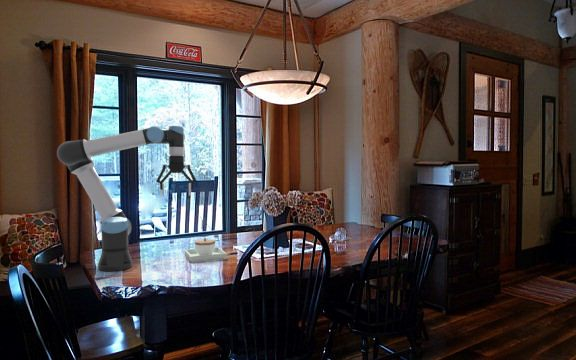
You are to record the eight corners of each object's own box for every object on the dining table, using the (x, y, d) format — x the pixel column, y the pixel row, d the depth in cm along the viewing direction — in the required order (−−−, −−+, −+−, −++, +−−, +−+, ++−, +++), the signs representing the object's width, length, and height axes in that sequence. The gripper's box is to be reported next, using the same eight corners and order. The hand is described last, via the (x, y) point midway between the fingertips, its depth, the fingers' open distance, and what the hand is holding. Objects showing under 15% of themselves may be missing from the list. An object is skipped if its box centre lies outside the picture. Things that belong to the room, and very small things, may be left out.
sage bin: (190, 262, 206) (190, 256, 206) (184, 254, 223) (184, 249, 223) (226, 259, 213) (226, 253, 213) (218, 252, 230) (218, 246, 230)
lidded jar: (217, 253, 223) (217, 236, 222) (212, 258, 212) (212, 240, 212) (198, 253, 224) (198, 236, 223) (192, 257, 213) (191, 239, 213)
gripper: (199, 155, 222) (199, 194, 223) (150, 155, 213) (151, 195, 213) (201, 155, 215) (201, 195, 216) (152, 154, 206) (152, 197, 207)
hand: (176, 195), depth 215 cm, fingers open, 13 cm apart
